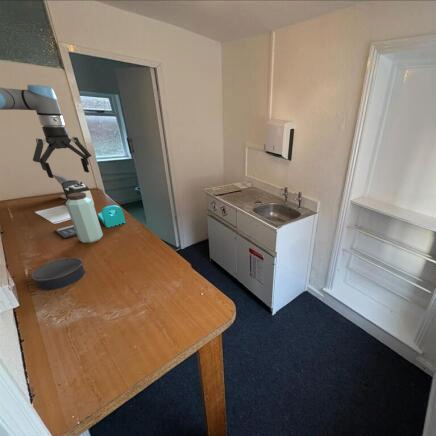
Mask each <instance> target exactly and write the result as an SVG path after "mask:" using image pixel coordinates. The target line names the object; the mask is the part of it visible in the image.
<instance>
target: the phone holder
mask: <svg viewBox="0 0 436 436" xmlns="http://www.w3.org/2000/svg"><path fill="white" fill-rule="evenodd" d="M53 177H54V178H53V179H55V180H56V181H57V182H58V183H59V184H60V185H61V183H62V182H66V181H70V178H69V177H67V176H65V175H61V174H58V173H54V174H53ZM59 197H60V199H64V200H67V198H66V196H65V194H63V195H60V196H59Z"/></svg>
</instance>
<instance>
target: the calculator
mask: <svg viewBox="0 0 436 436" xmlns="http://www.w3.org/2000/svg"><path fill="white" fill-rule="evenodd" d="M54 231H55V232H56V233H57V234H58V235H60V236H61V237H63V238H64V239H69V238H73V237H76V236H77V234H76V231H75V228H74V225H73V223H72V224H69V225H65V226H62V227H58V228H54Z"/></svg>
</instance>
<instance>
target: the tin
mask: <svg viewBox="0 0 436 436" xmlns="http://www.w3.org/2000/svg"><path fill="white" fill-rule="evenodd" d="M85 273H86V270H85V268H84V266H83V261H82V259H81V258H77V257H65V258H59V259H56V260H53V261H50V262H47V263H45V264H43V265H41V266H40V267H38V268H36V269H35V270H34V271H33V272H32V274H31V278H32V279H33V280H34V281H35V284H36V285H37V287H38V289H40V290H43V291H53V290H59V289H62V288H65V287H68V286H70V285H72V284H74V283H77V282H78V281H79V280H81V279H82V278H83V277H84V275H85Z"/></svg>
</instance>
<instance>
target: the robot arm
mask: <svg viewBox="0 0 436 436" xmlns="http://www.w3.org/2000/svg"><path fill="white" fill-rule="evenodd" d="M2 110H3V111H4V110H5V111H6V110H7V111H8V110H9V111H10V110H11V111H12V110H15V111H16V110H19V111H35V113H36V115H37V119H38V120H39V124H40V125H41V126H42V127H41V129H42V132H43V135H44V138H36V139H35V142H36V147H35V148H34V149H35V150H34V153H33V157H32V161H33V162H35V163H39V164H40V166H41V169H42V170H43V171H45V172H46V174H47V176H48V178H50V179H55V178H54V176H53V175H54V174H53V172H52V168H51V166H50V164H49V162H47V161H48V160H49V158H50V157H51V155H52V153H53V152H54V151H55V150H60V149H61V150H62V149H69V150H70V151H72V152H73V153H75V154H76V155H78V156H79V157H81V158H80V162H81V166H82V169H83V171H84V172H85V173H90V170H89V166H90V163H89V162H90V161H89V158H90V157H92V154H91V153H90V152H89V151H88V150H87V149H86V147H85V146H84V145H83V144H82V143H81V142H80V140H79V137H77V136H72V137H69V133H68V130H67V127H66V125H65V120H64V117H63V115H62V111H61V109H60V105H59V102H58V98H57V96H56V93H55V90H54V89H53V88H52V87H51V86H49V85H41V84H27V89H18V88H7V87H0V111H2ZM71 142H72V143H74V145H75V146H76V147H77V148H79V149H77V148H76V147H75V146H74V145H72V144H71ZM46 143H47V144H48V145H47V146H46V149H45V151H44V152H43V150H44V145H45V144H46ZM42 152H43V154H42Z"/></svg>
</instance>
